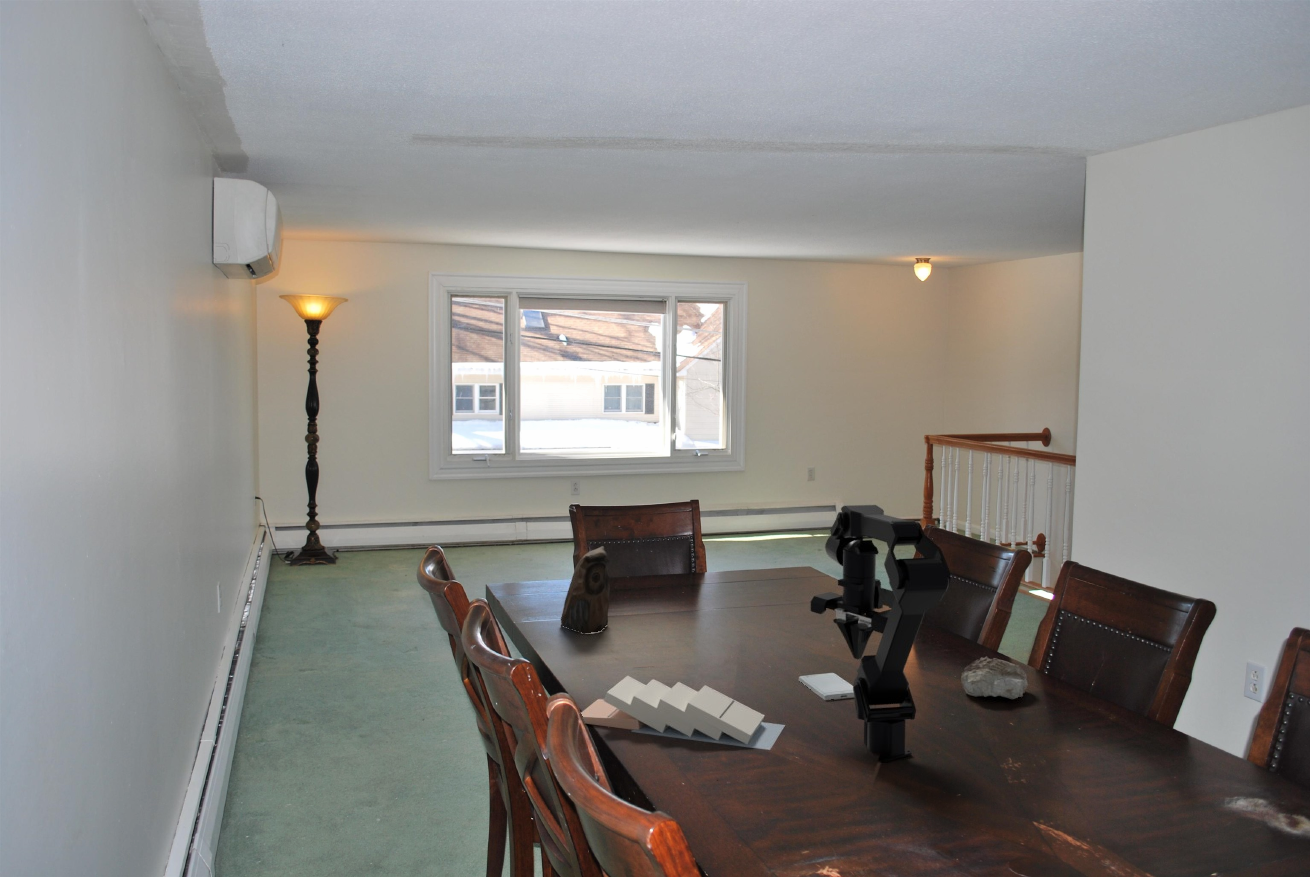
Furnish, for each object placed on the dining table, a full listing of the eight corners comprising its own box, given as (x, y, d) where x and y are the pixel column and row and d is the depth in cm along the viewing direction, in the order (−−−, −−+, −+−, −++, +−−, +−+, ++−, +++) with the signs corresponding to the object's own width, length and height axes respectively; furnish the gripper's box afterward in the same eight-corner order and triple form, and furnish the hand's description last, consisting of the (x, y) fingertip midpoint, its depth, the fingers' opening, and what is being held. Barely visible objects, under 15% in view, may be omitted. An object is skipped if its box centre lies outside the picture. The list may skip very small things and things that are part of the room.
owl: (604, 620, 248) (604, 543, 246) (624, 631, 236) (624, 551, 235) (559, 625, 242) (558, 547, 241) (577, 638, 231) (576, 556, 229)
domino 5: (764, 715, 171) (704, 684, 174) (750, 735, 161) (687, 702, 165) (761, 724, 171) (701, 693, 175) (747, 744, 162) (684, 711, 165)
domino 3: (710, 708, 174) (653, 678, 178) (694, 727, 165) (633, 695, 168) (707, 717, 174) (649, 687, 178) (690, 737, 165) (630, 704, 169)
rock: (991, 695, 180) (977, 643, 185) (956, 708, 187) (944, 658, 192) (1045, 698, 187) (1030, 647, 191) (1009, 710, 194) (996, 661, 198)
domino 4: (736, 712, 172) (678, 681, 176) (721, 731, 163) (660, 698, 167) (733, 720, 173) (674, 690, 176) (717, 740, 163) (656, 708, 167)
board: (785, 729, 171) (785, 725, 171) (769, 754, 159) (769, 749, 159) (654, 713, 179) (654, 708, 179) (630, 735, 168) (630, 731, 168)
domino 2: (683, 705, 176) (627, 675, 179) (665, 723, 167) (606, 692, 170) (680, 713, 176) (624, 684, 180) (662, 732, 167) (603, 701, 170)
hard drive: (798, 676, 198) (824, 694, 186) (834, 672, 200) (862, 690, 188) (798, 683, 198) (824, 703, 186) (834, 680, 200) (862, 699, 188)
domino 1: (657, 701, 178) (598, 698, 182) (638, 719, 168) (576, 716, 172) (658, 711, 178) (599, 708, 182) (638, 729, 168) (577, 726, 172)
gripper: (930, 577, 168) (928, 663, 170) (849, 557, 183) (848, 636, 185) (889, 588, 161) (887, 677, 163) (808, 567, 176) (807, 648, 178)
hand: (857, 658), depth 172 cm, fingers closed
